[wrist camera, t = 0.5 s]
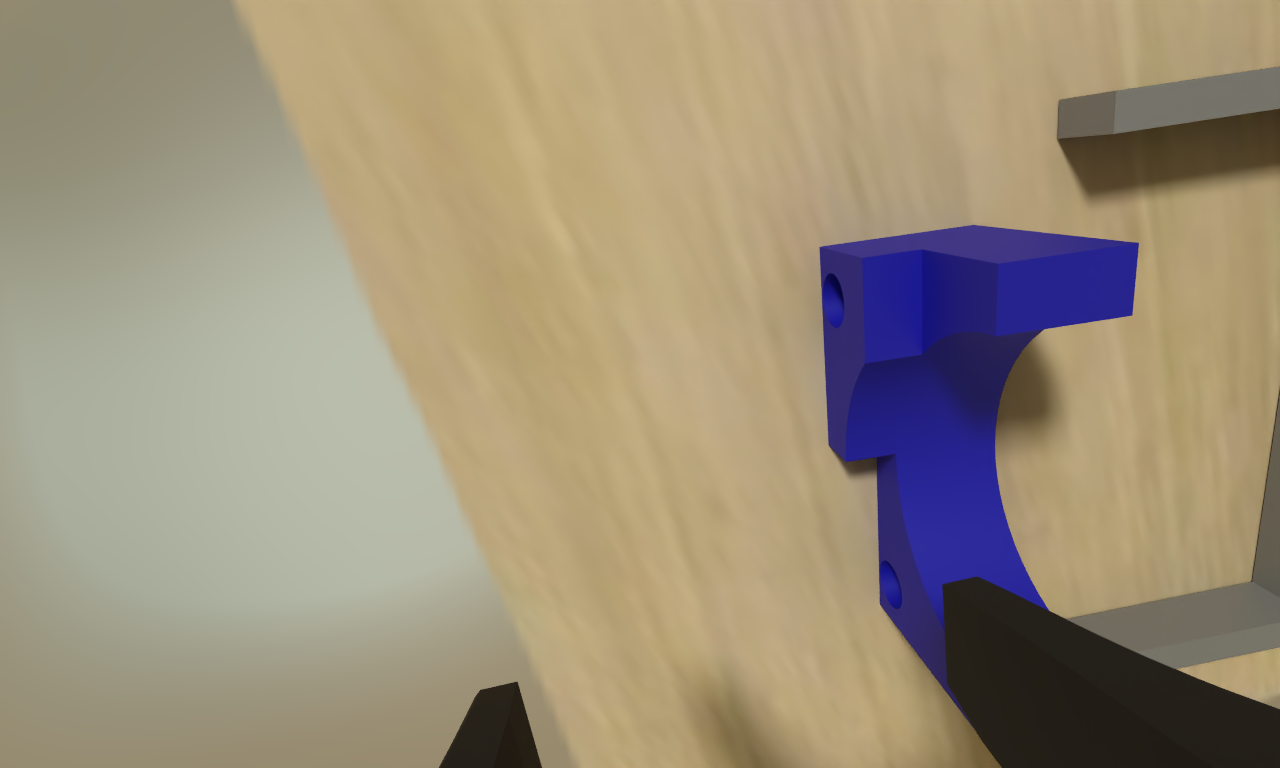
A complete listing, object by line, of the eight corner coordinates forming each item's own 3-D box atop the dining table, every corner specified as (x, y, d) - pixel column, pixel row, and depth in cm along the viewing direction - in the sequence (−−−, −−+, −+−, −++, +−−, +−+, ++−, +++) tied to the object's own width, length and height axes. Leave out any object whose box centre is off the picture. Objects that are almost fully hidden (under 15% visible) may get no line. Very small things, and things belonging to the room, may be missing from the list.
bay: (1361, 54, 19) (1450, 41, 17) (1274, 600, 25) (1334, 635, 23) (1059, 100, 19) (1116, 90, 17) (1037, 648, 24) (1079, 689, 22)
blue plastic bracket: (817, 246, 19) (925, 274, 14) (969, 224, 20) (1138, 243, 14) (834, 608, 23) (926, 752, 17) (962, 585, 23) (1095, 718, 17)
